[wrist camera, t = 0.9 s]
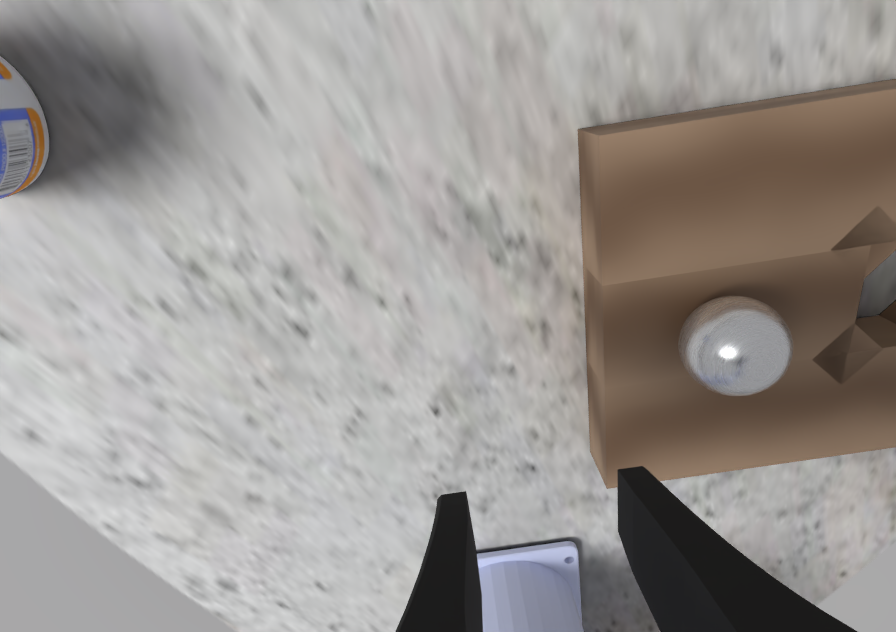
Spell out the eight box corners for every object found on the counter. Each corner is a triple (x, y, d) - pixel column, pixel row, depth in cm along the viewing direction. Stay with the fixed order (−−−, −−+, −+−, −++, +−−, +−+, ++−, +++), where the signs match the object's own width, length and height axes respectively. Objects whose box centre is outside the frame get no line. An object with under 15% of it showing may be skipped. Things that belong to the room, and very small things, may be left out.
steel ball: (749, 357, 20) (809, 408, 17) (661, 370, 20) (704, 423, 17) (758, 274, 19) (826, 313, 16) (663, 289, 19) (711, 331, 16)
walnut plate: (952, 399, 25) (1005, 431, 22) (590, 451, 25) (606, 488, 23) (1061, 52, 18) (1150, 48, 16) (578, 129, 19) (599, 135, 17)
